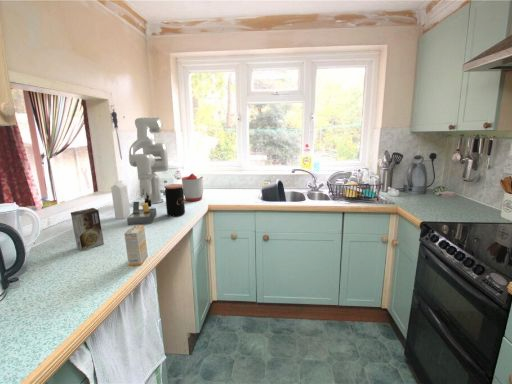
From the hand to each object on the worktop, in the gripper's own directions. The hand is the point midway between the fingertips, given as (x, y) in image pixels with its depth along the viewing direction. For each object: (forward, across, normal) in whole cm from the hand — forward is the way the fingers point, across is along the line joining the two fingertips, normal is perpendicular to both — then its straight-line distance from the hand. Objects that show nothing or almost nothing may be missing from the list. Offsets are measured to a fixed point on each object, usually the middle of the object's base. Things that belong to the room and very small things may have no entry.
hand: (148, 206), depth 159 cm
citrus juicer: (+7, -39, +26) cm, 47 cm away
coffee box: (+6, +40, -17) cm, 44 cm away
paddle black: (+2, +6, -6) cm, 8 cm away
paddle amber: (+2, +5, 0) cm, 6 cm away
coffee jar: (+6, -1, +16) cm, 17 cm away
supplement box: (+6, +62, +7) cm, 62 cm away
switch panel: (+6, +6, -2) cm, 9 cm away
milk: (+6, -2, -16) cm, 17 cm away
